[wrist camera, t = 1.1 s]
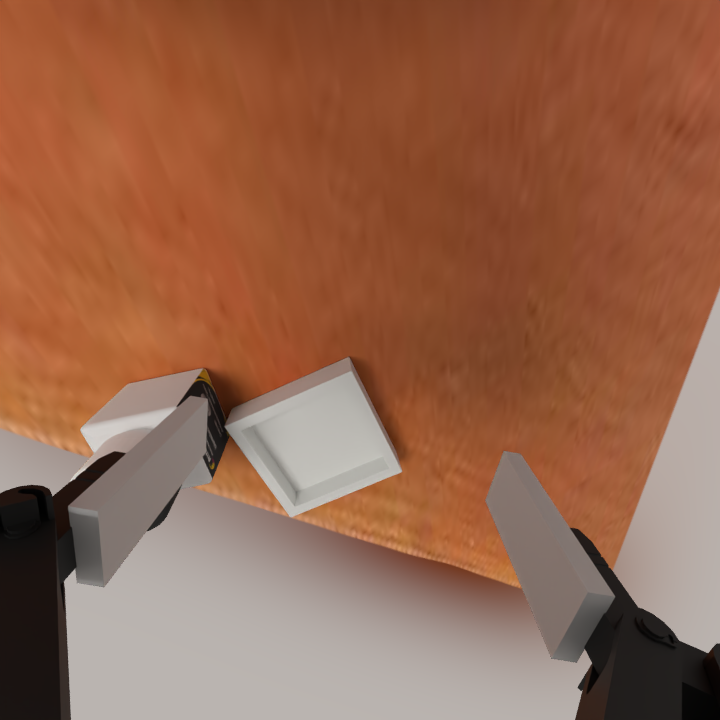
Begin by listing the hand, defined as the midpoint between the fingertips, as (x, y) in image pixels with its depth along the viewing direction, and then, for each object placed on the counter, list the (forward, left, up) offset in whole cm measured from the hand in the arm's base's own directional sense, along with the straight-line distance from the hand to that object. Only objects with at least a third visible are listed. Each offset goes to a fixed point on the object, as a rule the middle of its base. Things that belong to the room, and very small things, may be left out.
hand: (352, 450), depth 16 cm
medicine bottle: (+1, -16, -17) cm, 24 cm away
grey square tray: (+9, -6, -17) cm, 20 cm away
